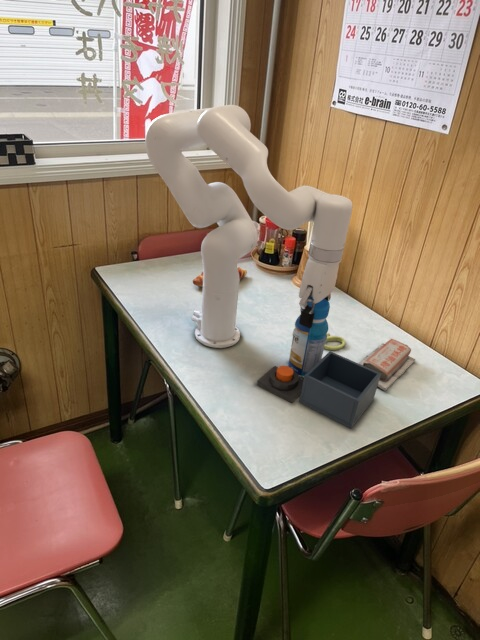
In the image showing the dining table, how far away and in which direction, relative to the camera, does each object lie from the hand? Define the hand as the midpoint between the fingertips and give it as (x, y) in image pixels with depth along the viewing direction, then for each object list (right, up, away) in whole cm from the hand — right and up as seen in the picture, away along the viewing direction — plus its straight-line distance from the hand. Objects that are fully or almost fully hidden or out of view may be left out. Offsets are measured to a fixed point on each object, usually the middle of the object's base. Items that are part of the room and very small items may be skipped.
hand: (313, 319), depth 116 cm
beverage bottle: (-1, -13, +8) cm, 15 cm away
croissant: (-24, +12, +45) cm, 53 cm away
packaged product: (+20, -13, +11) cm, 27 cm away
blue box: (+5, -20, -2) cm, 20 cm away
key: (+7, -6, +21) cm, 23 cm away
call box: (-7, -16, +1) cm, 18 cm away
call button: (-7, -14, 0) cm, 16 cm away
